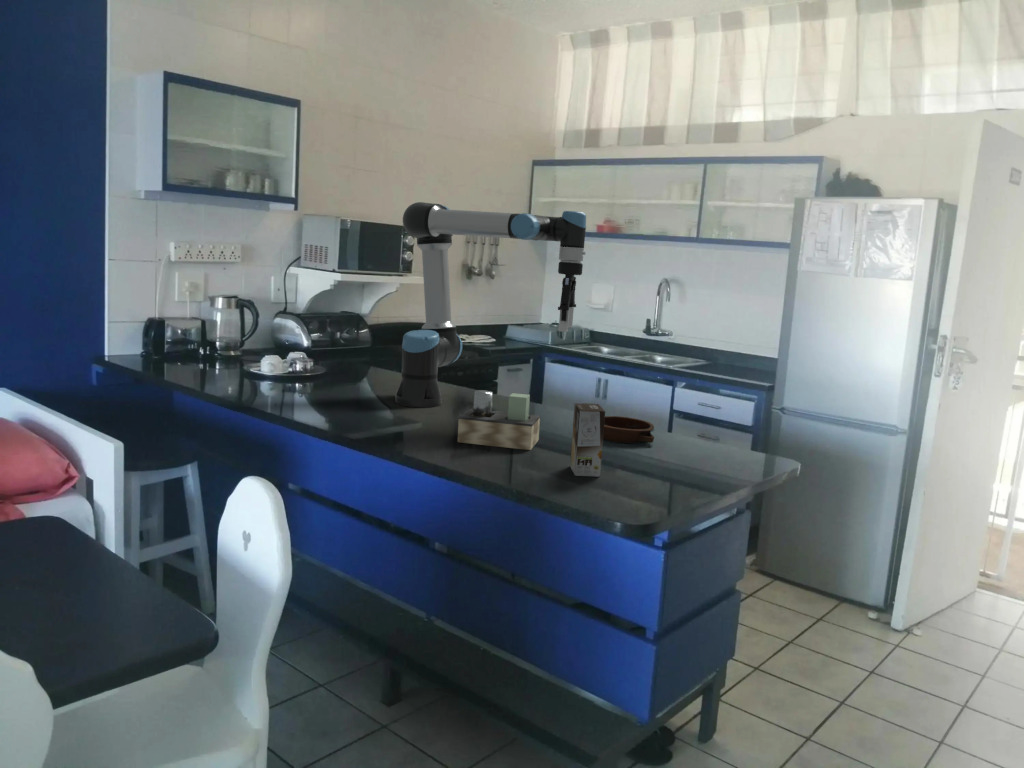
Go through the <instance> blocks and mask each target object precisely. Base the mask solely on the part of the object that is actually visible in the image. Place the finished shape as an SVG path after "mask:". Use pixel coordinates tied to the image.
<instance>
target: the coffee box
mask: <svg viewBox="0 0 1024 768" xmlns="http://www.w3.org/2000/svg"><path fill="white" fill-rule="evenodd" d="M573 404H574V406H573V419H572V420H573V421H572V422H573V423H572V436H571V450H570V465H569V466H570V469H571V471H572V472H573V475H574V476H575V477H597V478H599V477H600V476H601V470H602V468H601V467H602V457H603V456H602V455H603V444H604V439H603V433H604V421H605V416H606V411H605V410H604V408H603V407H602V406H601V405H600V404H598V403H577V402H576V403H573Z"/></svg>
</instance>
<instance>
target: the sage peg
mask: <svg viewBox="0 0 1024 768" xmlns="http://www.w3.org/2000/svg"><path fill="white" fill-rule="evenodd" d="M530 395H531V394H525V393H514V392H512V393H511V394H510V395H508V406H507V412H508V419H510V420H519V421H528V417H529V414H530V402H531V401H530V399H531V396H530Z"/></svg>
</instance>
